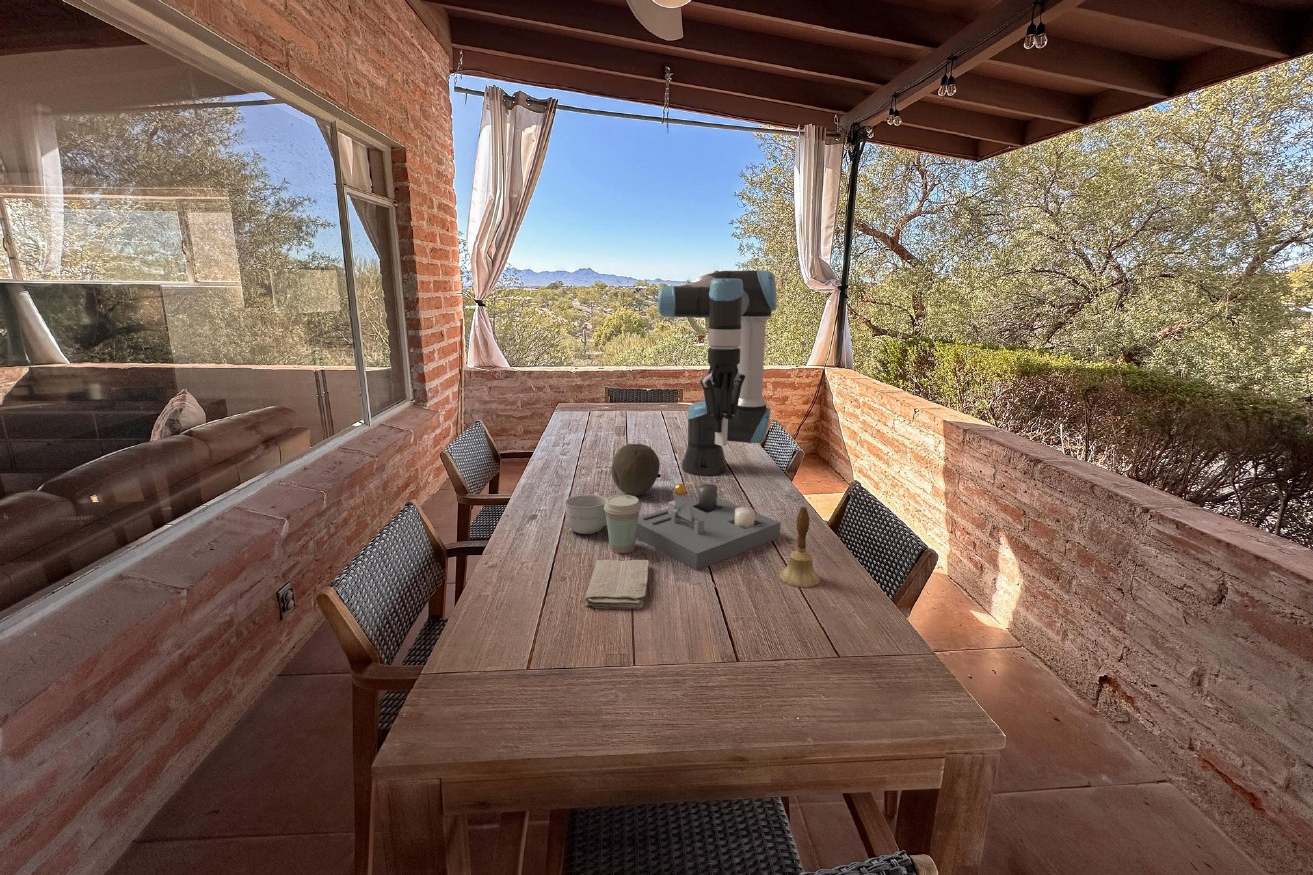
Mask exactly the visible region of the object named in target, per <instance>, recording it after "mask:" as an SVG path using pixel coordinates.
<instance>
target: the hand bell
mask: <svg viewBox="0 0 1313 875" xmlns="http://www.w3.org/2000/svg"><path fill="white" fill-rule="evenodd" d="M795 526H796V530H797V535H798V538H797V545H796V546H797V549H796V550H794V551H792V552H791V553H790V555H789V560H788V562H787V565H786V567H785V568H784V569H782V570H781V571H780V573H779V579H780V580H781V581H782V582H784V584H786V585H788V586H792V587H796V588H801V589H802V588H803V589H804V588H806V589H807V588H808V589H809V588H812V587H816V586H817V585H819V583H820V581H821V580H820V579H821V577H820V576H819V574H818V573H817V572H816V571H815V568H814V566H813V565H814V564H813V556H812V554H811V553H809V552H808V551H807V549H806V548H807V546H806V544H807V534H808V532H809V527H810V516H809V513H808V508H807V507H806V506H800V509H799V511H798V514H797V516H796V525H795Z"/></svg>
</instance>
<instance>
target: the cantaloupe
mask: <svg viewBox="0 0 1313 875" xmlns="http://www.w3.org/2000/svg"><path fill="white" fill-rule="evenodd" d="M660 465H661V464H660V459H659V457H658V455H657V453H656V452H655V451H654V449H653V448H652V447H650V446H649V445H646V444H642V443H628V444H625V445H623V446H622V447H621V448H619V449H618V450H617V452H615V455H614V456H613V460H612V464H611V477H612V480H613V482H614V484H615V485H616V488H618V490H619V491H620V492H622V493H623V494H625V495H631V496H634V497H639V496H642V495H643V494H645V493H646V492H648V491H649V490H650V489H652V487H653V486H654V484H655V482H656V481H657V479H658V476H659V472H660V468H661V467H660Z"/></svg>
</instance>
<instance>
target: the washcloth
mask: <svg viewBox="0 0 1313 875" xmlns="http://www.w3.org/2000/svg"><path fill="white" fill-rule="evenodd" d="M649 562H650V561H649V559H647V560H646V559H630V560H619V559H597V561H595V565H594V568H593V572H592V575H591V576H590V577H591V579H590V580H589V584H588V587H587V590H586V593H585V596H584V600H585V607H586V608H588V607H591V608H596V609H620V610H623V609H625V610H641V609H642V608H643V607H644V604H645V600H646V597H647V587H648V577H649V571H648V569H649V568H650V567H649Z"/></svg>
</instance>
